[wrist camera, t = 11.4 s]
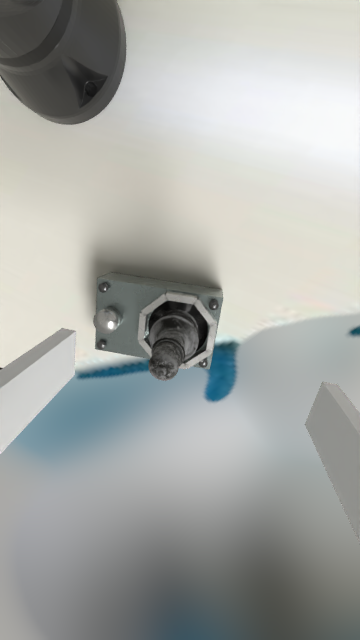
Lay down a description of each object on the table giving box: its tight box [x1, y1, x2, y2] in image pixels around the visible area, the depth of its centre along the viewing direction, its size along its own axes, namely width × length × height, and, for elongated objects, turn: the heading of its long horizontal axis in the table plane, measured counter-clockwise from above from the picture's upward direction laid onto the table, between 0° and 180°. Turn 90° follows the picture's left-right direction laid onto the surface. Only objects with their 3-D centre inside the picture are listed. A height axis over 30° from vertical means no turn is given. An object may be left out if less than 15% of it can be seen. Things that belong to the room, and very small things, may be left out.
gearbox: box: [93, 272, 223, 369], centre depth 36 cm, size 16×10×7 cm, turn 82°
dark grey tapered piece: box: [149, 309, 199, 381], centre depth 29 cm, size 6×6×12 cm
